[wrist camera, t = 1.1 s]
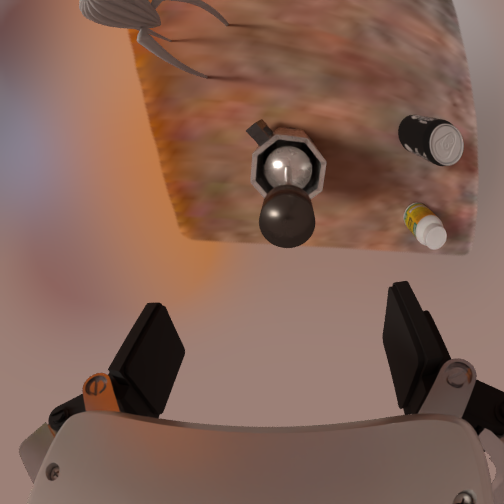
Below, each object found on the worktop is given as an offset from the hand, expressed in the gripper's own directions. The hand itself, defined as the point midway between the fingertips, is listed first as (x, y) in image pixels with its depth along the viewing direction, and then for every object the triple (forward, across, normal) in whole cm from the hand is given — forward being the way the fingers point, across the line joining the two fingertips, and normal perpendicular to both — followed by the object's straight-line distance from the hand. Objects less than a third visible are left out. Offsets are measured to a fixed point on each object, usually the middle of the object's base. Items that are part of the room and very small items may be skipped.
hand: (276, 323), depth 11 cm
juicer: (+38, +9, -22) cm, 45 cm away
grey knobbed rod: (+28, 0, 0) cm, 28 cm away
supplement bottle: (+38, -22, +13) cm, 46 cm away
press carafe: (+38, 0, -1) cm, 38 cm away
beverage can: (+38, -22, -2) cm, 44 cm away
